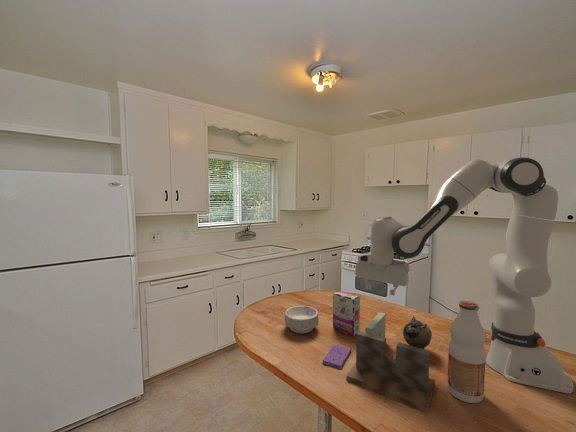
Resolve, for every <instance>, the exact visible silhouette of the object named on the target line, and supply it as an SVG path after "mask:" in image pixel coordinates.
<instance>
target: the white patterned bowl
mask: <svg viewBox="0 0 576 432" xmlns="http://www.w3.org/2000/svg"><path fill="white" fill-rule="evenodd" d="M284 311H285V312H284V323H285V326H286V327H288V328H290V330H291V331H292V332H293V333H295V334H296V333H297V334H307V333H310V332H312V331H313V330H314V328H316V327H317V326H318V325H319V310H317V309H316V308H314V307H313V306H309V305H296V306H291V307H288V308H287V309H286V310H284Z"/></svg>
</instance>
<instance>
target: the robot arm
mask: <svg viewBox="0 0 576 432" xmlns="http://www.w3.org/2000/svg"><path fill="white" fill-rule="evenodd" d="M488 189H490V190H492V191H495V192H498V193H503V194H504V193H506V194H511V195H512V197H513V207H512V209H511V212H510V213H511V214H510V217H509V221H508V224H507V228H506V230H505V231H506V232H505V240H506V252H499V253H496V254H494V255H493V256H492V257H490V258H489V261H488V269H489V270H488V271H489V272H490V282H491V288H492V289H491V290H492V295H493V317H492V318H493V321H492V322H491V325H490V341H491V342H490V346H489V350H488V352H487V355H486V361H485V364H487V366H489V368H491V369H493V370H494V371H495V372H497V373H499V374H501V375H502V376H503V377H504V378H505V379H506V380H508V381H509V382H513V383H517V384H522V385H527V386H530V387H536V388H541V389H544V390H549V391H554V392H558V393H559V392H560V393H562V394H563V393H564V394H571V393H573V392H574V382H573V380H572V378H571V377H570V376H569V374H568V373H567V372H565V371H564V368H563V364H562V362H561V360H560V359H559V358H558V357H557V356H556V355H555V354H554V353H552V351H550V350H549V349H548V348H546V347H545V346H546V345H547V344H546V341H545V340H544V339H543V337H542V336H541V335H540V333H539V331H535V321H536V308H535V305H534V303H533V300H532V298H539V297H541V296H544V295H546V294H547V293H548V292H549V291H550V289H551V287H552V279H551V277H550V274H549V270H548V248H549V242H550V238H551V234H552V231H553V226H554V223H555V219H556V215H557V211H558V203H559V193H558V191H557V189H556V188H555V187H553V186H552V185H549V184H547V181H546V178H545V175H544V169H543V167H542V165H541V163H539V162H538V161H537V160H536V159H534V158H531V157H516V158H511V159H507V160H504V161H503V162H500V163H498V164H494V165H493V164H491V163H489V162H488V161H486V160H483V159H477V158H475V159H472V160H470V161H469V162H467V163H465V164H464V165H462V166H461V167H460V168H458V169H457V170H456V171H455V172H453V174H451V175H450V176H449V177H448V178H447V179H446V180H445V181H444V182H443V183H442V184H441V185H440V186H439V188H438V190H437V191H436V193H435V197H434V200H433V203H432V205H431V206H430V208H429V209H428V210H427V211H426V212H425V213H424V214H423V215H421V217H420V218H419V219H418V220H417V221H416V222H415V223H414V224H413V225H411V226H409V225H407V224H403V223H402V222H399V221H398V220H396V219H395V218H393V217H392V216H382V217H378V218H375V219H374V220H373V221H372V222H371V227H370V243H371V244H370V249H369V252H363V253H361V254H359V255H358V256H357V260H358V261H357V262H356V263H355V271H354V272H355V273H354V274H355V277H356V278H358V279H363V283H364V284H365V286H366V287H365V289H366V290H367V291H371V290H372V285H371V284H370V283H369V281H374V282H379V283H384V284H385V283H386V284H390V285H392V286H393V289H390V290H389V295H390V296H395V295H396V290H397V289H398V288H399V286H400V287H406V286H407V285H408V284H409V281H410V280H409V272H410V265H409V263H408V262H406V260H405V261H404V260H399V259H394V256H395V255H394V254H396V255H397V256H398V257H401V258H403V259H413V258H416V257H417V256H419V255H420V254H421V253H422V251H423V250H424V247H425V245H426V242H427V240H428V239H429V238H430V237H431V236H432V234H434V232H436V231H437V230H438V229H439V228H440V227H441V226H442V225H444V224H445V222H446V221H447V220H448V219H450V218H451V217H453V216H454V215H456V214H457V213H458V212H460V211H461V210H463V209H464V208H465V207H466V206H468V205H469V204H471V203H472V202H473V201H474V200H475V199H476V198H477V197H478V196H480V195H481V193H483V192H484V191H486V190H488Z"/></svg>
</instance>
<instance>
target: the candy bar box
mask: <svg viewBox="0 0 576 432" xmlns="http://www.w3.org/2000/svg"><path fill="white" fill-rule="evenodd" d="M360 302H361V301H360V295H355V294H353V293H349V292H345V291H341V290H338V291H336V292H335V291H334V292H332V328H333V329H335V330H337V331H339V332H341V333H344V334H347V335H349V336H351V337H355V336H357V333H358V332H359V331H360V309H361V307H360V305H361V304H360Z"/></svg>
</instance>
